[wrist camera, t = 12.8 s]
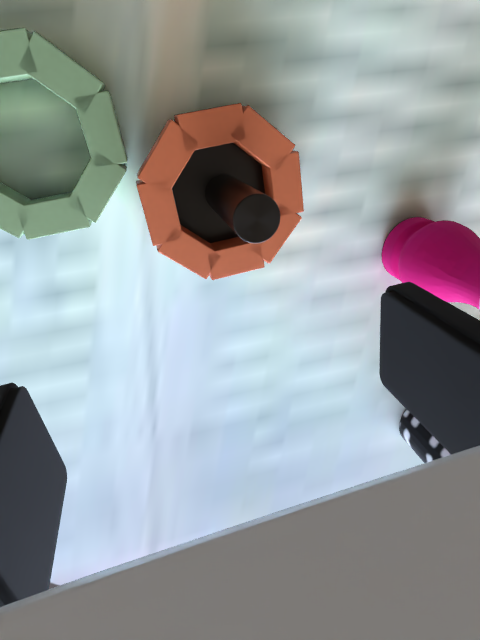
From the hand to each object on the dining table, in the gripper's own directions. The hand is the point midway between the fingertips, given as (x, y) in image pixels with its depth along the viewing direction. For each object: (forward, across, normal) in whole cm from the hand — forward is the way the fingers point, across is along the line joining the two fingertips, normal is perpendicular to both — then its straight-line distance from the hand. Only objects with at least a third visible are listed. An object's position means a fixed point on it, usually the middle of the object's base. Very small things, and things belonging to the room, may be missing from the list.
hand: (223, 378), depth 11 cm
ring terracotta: (+25, -5, 0) cm, 25 cm away
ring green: (+26, +8, -6) cm, 28 cm away
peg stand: (+26, -5, 0) cm, 26 cm away
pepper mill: (+26, -23, +9) cm, 36 cm away
